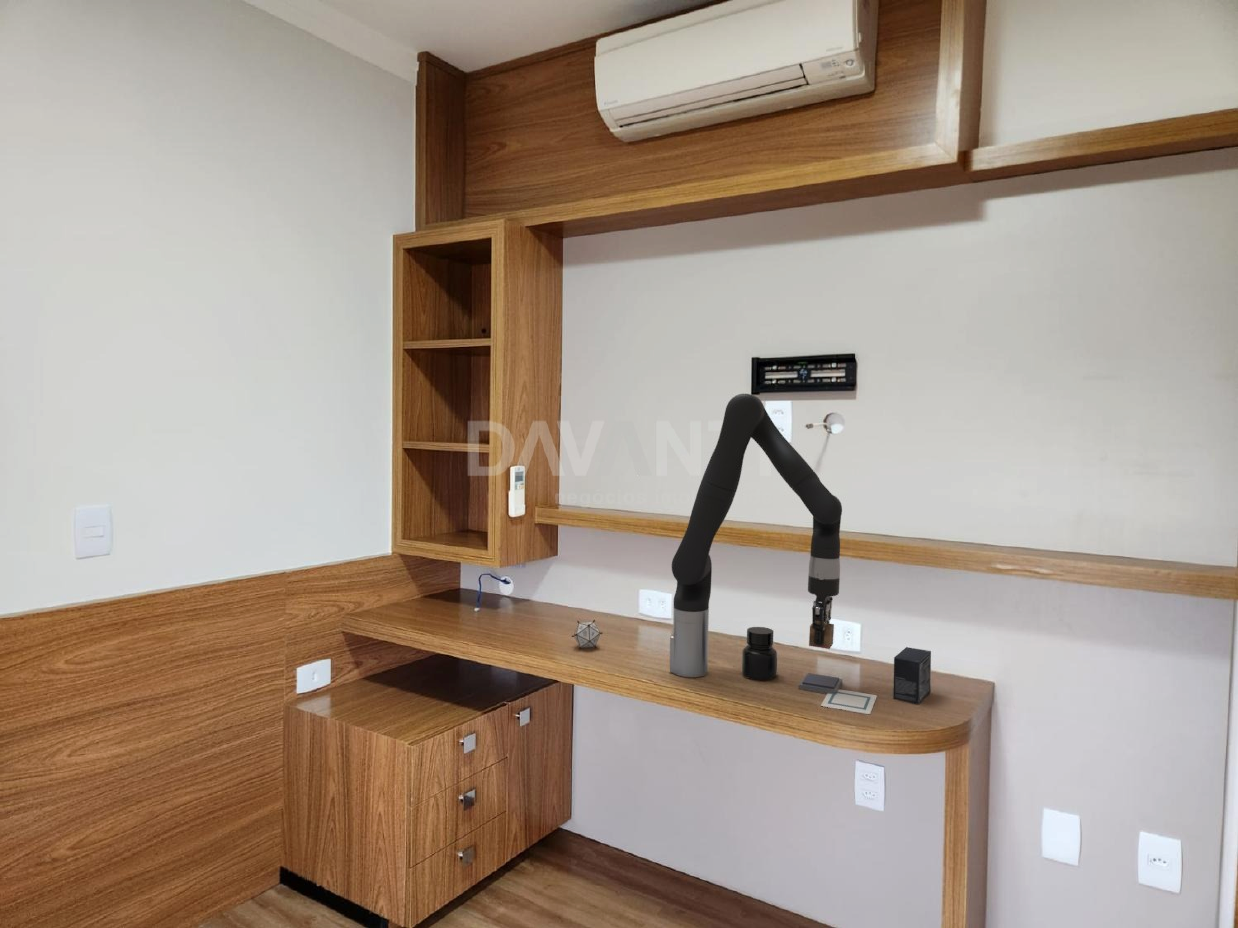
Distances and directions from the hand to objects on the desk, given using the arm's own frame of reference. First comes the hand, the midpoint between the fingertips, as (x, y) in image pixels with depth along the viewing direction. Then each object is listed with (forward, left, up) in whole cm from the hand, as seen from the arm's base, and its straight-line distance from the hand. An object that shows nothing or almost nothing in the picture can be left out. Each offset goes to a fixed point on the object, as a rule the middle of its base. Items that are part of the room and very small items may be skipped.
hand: (820, 641), depth 188 cm
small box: (+21, +4, -12) cm, 25 cm away
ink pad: (0, 0, -11) cm, 11 cm away
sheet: (+8, -7, -11) cm, 16 cm away
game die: (-67, +1, -12) cm, 68 cm away
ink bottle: (-16, +1, -12) cm, 20 cm away
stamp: (0, 0, -1) cm, 1 cm away
